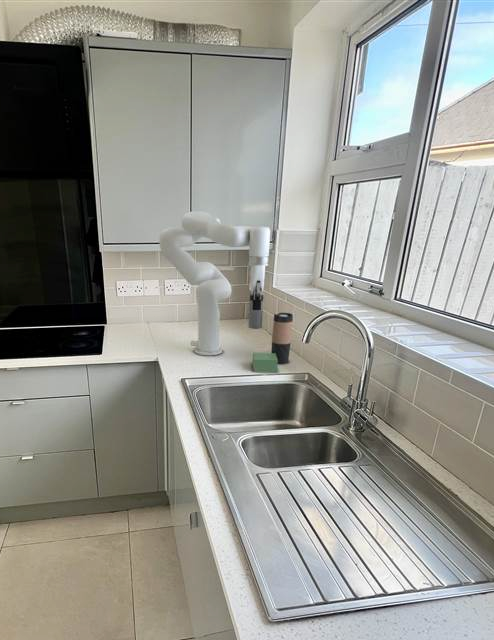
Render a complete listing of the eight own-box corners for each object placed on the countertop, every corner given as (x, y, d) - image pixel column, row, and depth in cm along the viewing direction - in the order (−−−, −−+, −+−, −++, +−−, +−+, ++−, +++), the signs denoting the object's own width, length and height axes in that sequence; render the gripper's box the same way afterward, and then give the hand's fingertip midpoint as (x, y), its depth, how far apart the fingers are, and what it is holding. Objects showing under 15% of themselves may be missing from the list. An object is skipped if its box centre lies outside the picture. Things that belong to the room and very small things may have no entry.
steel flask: (246, 328, 163) (248, 295, 158) (250, 325, 168) (252, 293, 163) (259, 329, 161) (261, 296, 156) (263, 326, 166) (265, 294, 161)
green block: (253, 371, 160) (254, 359, 158) (252, 364, 168) (253, 352, 166) (276, 372, 159) (277, 360, 157) (274, 364, 167) (275, 353, 166)
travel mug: (288, 364, 167) (293, 317, 160) (270, 363, 169) (273, 316, 161) (288, 358, 174) (292, 312, 167) (270, 357, 176) (274, 312, 168)
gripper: (247, 259, 163) (245, 304, 170) (249, 263, 147) (247, 312, 154) (266, 259, 162) (263, 304, 169) (270, 263, 146) (267, 313, 153)
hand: (256, 307), depth 161 cm, fingers closed on steel flask, 5 cm apart
